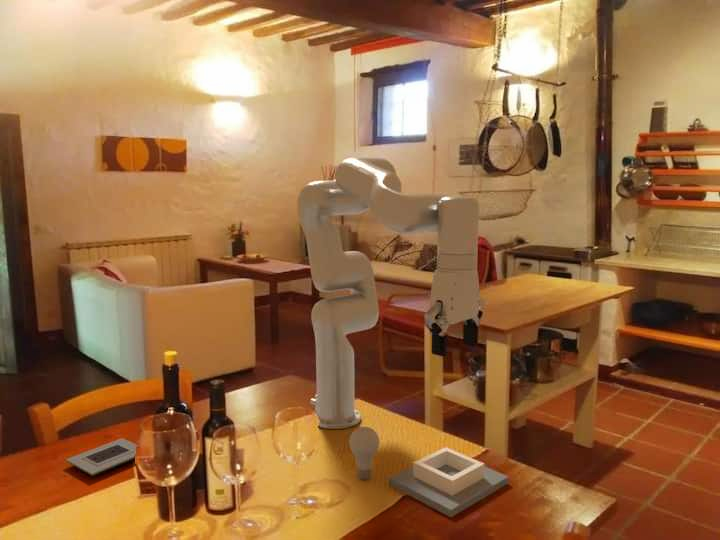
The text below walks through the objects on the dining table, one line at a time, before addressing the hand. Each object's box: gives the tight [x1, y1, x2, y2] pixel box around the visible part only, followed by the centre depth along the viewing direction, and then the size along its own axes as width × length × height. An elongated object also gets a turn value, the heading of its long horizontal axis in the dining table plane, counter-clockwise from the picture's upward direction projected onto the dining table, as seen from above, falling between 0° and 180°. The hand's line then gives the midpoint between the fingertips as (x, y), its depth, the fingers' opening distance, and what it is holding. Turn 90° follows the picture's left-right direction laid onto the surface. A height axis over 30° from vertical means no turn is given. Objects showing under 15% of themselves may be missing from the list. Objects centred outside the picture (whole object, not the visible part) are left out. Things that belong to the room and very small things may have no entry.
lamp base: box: [388, 446, 509, 518], centre depth 121 cm, size 16×18×4 cm
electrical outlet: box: [65, 438, 137, 477], centre depth 131 cm, size 13×10×2 cm
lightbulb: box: [348, 426, 380, 480], centre depth 122 cm, size 6×6×11 cm
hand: (455, 349), depth 116 cm, fingers open, 9 cm apart
